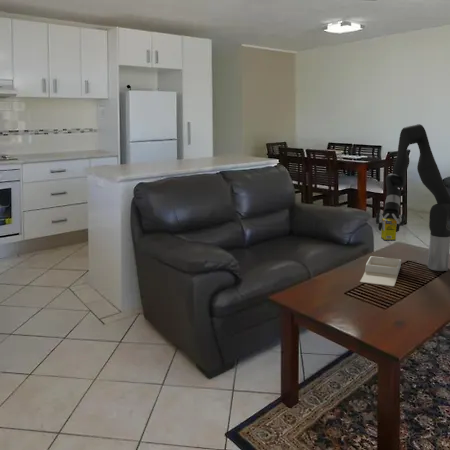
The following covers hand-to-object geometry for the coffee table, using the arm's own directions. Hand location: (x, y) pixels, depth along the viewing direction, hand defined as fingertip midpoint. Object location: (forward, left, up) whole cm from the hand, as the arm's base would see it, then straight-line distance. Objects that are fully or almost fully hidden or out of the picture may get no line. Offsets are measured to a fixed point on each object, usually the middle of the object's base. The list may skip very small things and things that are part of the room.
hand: (388, 230), depth 246 cm
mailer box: (0, +24, -16) cm, 29 cm away
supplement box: (0, -1, -5) cm, 6 cm away
